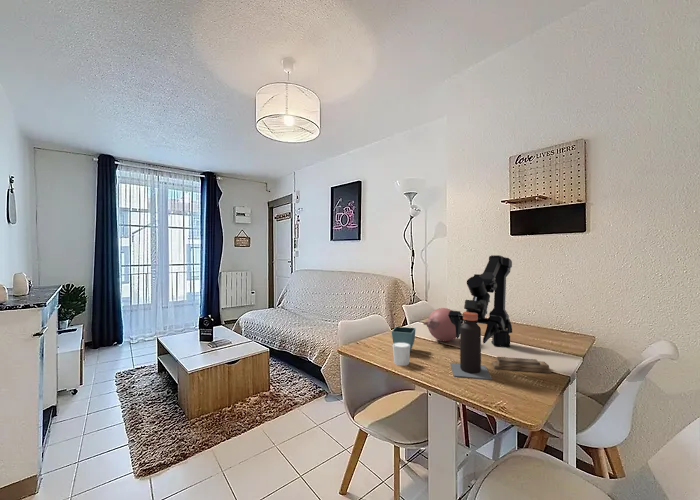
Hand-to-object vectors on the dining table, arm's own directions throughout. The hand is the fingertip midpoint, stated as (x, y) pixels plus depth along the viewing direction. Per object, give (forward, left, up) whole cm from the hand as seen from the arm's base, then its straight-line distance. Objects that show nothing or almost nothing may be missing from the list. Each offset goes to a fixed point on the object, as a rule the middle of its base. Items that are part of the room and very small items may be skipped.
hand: (470, 340), depth 106 cm
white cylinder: (-24, +3, -11) cm, 27 cm away
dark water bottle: (0, 0, -11) cm, 11 cm away
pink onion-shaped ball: (-8, +34, -11) cm, 37 cm away
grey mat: (0, 0, -11) cm, 11 cm away
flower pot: (-24, +18, -11) cm, 32 cm away
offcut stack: (+18, +7, -11) cm, 22 cm away
